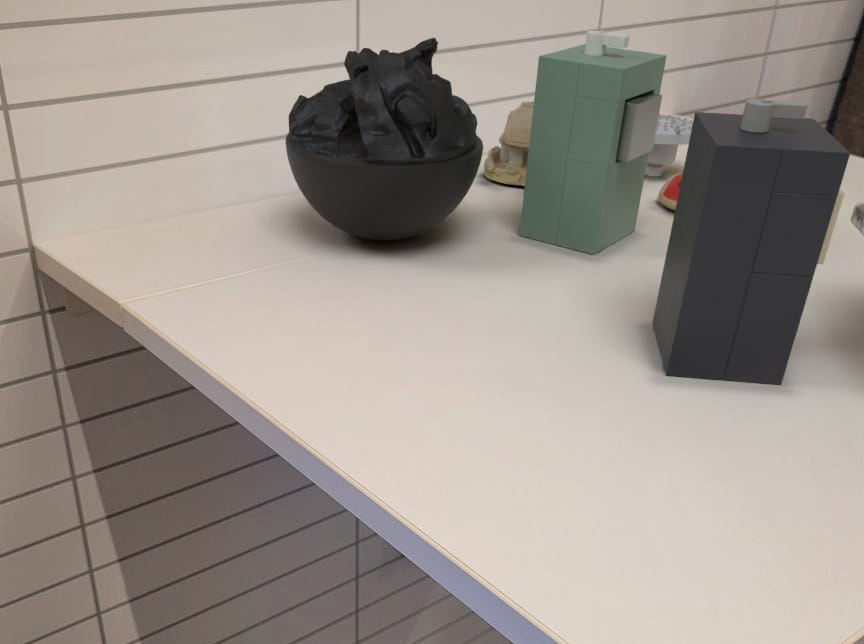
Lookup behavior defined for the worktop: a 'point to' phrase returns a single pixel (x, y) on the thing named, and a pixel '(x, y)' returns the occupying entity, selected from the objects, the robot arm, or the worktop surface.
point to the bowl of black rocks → (384, 145)
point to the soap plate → (638, 126)
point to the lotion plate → (831, 227)
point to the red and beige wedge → (670, 192)
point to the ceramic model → (512, 148)
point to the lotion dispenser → (745, 241)
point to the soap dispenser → (585, 144)
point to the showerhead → (667, 142)
